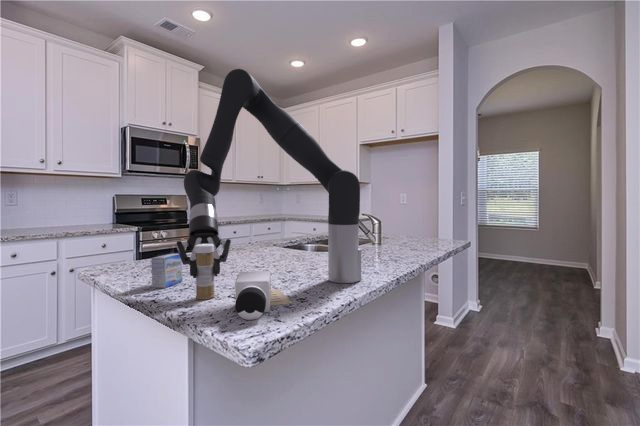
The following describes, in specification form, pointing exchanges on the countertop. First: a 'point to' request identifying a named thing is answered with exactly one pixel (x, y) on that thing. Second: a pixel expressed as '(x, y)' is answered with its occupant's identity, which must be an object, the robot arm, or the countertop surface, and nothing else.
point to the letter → (277, 298)
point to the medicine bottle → (252, 294)
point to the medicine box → (166, 270)
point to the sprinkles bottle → (204, 271)
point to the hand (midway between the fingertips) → (205, 275)
